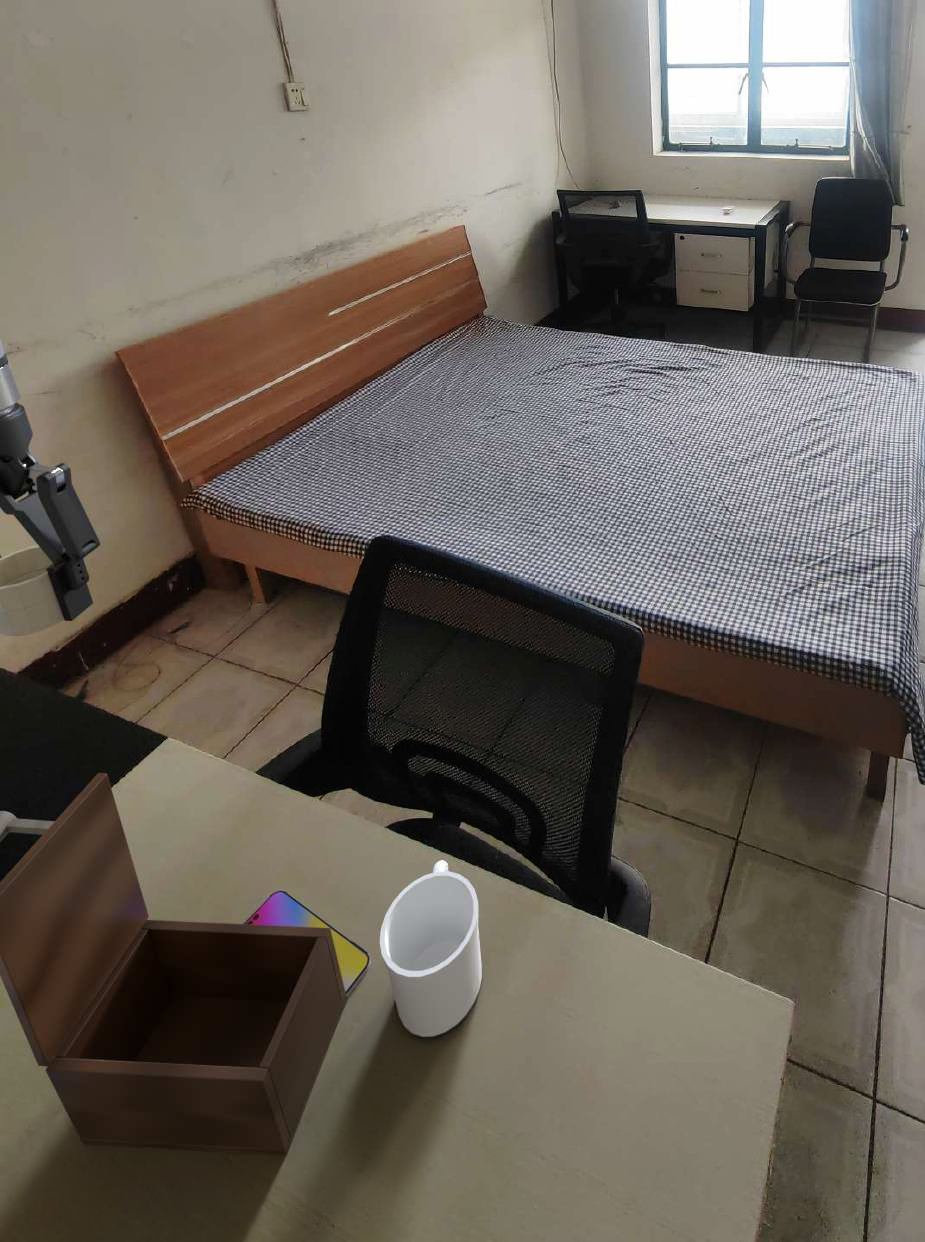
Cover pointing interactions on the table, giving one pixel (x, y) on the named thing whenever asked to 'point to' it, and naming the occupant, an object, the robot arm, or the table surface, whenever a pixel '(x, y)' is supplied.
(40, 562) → the bowl
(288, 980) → the wooden box
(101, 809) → the lid
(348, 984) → the smartphone
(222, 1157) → the table surface
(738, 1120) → the table surface
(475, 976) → the mug
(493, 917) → the table surface
